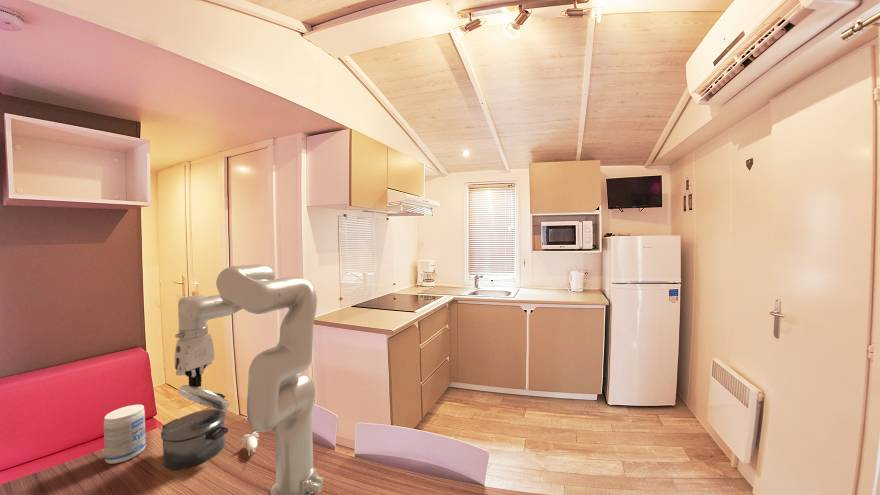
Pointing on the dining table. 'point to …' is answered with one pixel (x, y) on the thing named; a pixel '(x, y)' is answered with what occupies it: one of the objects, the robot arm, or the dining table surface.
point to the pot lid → (204, 397)
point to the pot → (193, 439)
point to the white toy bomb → (251, 441)
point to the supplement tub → (124, 433)
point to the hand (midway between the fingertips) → (195, 386)
